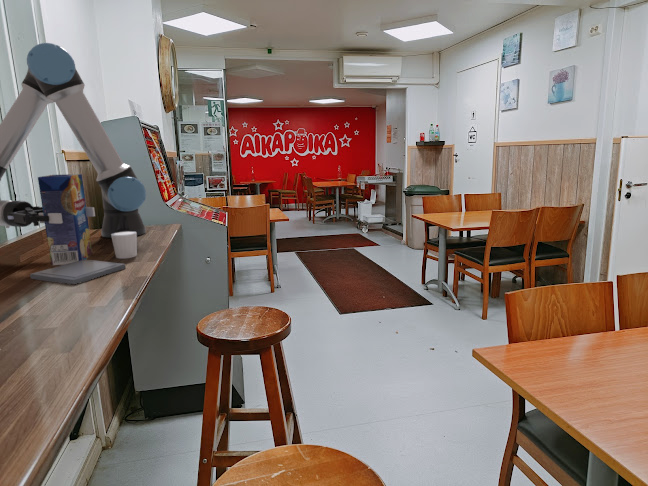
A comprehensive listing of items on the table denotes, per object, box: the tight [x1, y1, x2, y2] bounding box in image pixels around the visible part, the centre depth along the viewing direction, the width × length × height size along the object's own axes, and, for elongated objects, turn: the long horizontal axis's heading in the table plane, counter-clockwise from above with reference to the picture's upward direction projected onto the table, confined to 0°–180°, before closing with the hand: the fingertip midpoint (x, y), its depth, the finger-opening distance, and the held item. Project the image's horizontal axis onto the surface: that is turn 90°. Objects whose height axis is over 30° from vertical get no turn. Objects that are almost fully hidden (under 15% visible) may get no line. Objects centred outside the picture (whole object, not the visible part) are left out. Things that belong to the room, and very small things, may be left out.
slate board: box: [29, 259, 126, 285], centre depth 108 cm, size 15×15×1 cm
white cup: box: [111, 231, 138, 260], centre depth 125 cm, size 7×7×7 cm
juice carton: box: [37, 173, 93, 266], centre depth 120 cm, size 12×8×24 cm, turn 15°
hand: (78, 215), depth 119 cm, fingers closed on juice carton, 11 cm apart
